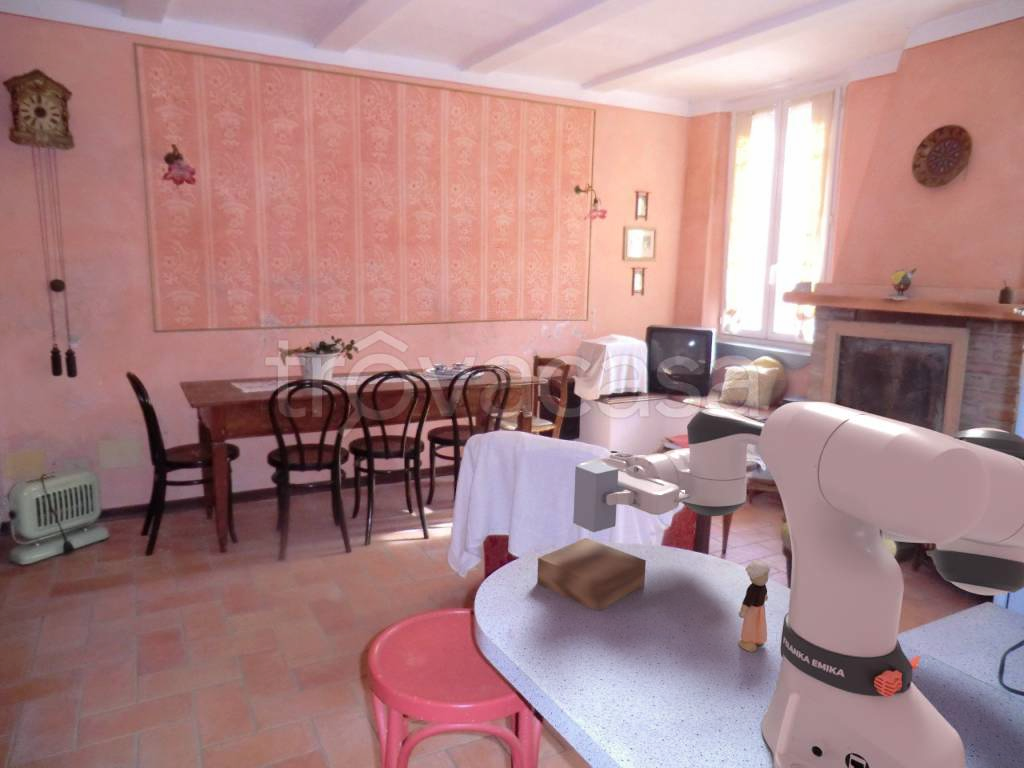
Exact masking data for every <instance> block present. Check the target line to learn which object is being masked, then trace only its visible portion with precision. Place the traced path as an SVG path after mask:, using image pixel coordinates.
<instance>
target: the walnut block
mask: <svg viewBox="0 0 1024 768" xmlns="http://www.w3.org/2000/svg"><path fill="white" fill-rule="evenodd" d="M646 562H647V561H646V559H643V558H641V557H638V556H635V555H633V554H630V553H628V552H624V551H622V550H619V549H617V548H614V547H611V546H609V545H606V544H603V543H601V542H598V541H596V540H593V539H590V538H587V537H585V538H582V539H580V540H577V541H576V542H573V543H569V544H568V545H565V546H564V547H560V548H558V549H556V550H554V551H551V552H549V553H547V554H544V555H542V556H540V557H538V558H537V579H536V584H537V583H538V585H540V586H542V585H543V586H542V587H544V588H546V587H547V589H548V588H549V590H551V591H553V592H555V593H558V594H559V593H560V595H561V596H563V597H566V598H568V599H570V600H573V601H574V602H577V603H579V604H581V605H583V606H586V607H587V608H591V610H594V611H597V612H599V611H601V610H602V609H604V608H606V607H608V606H610V605H612V604H613V603H615V602H617V601H619V600H622V598H624V597H626V596H628V595H630V594H632V593H633V592H636V591H637V590H639V589H641V588H643V587H644V586H645V582H646V581H645V579H646V564H647V563H646Z"/></svg>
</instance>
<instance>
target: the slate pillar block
mask: <svg viewBox="0 0 1024 768" xmlns="http://www.w3.org/2000/svg"><path fill="white" fill-rule="evenodd" d="M575 469H576V470H575ZM575 469H574V496H573V498H574V500H573V516H572V517H573V519H572V520H573V521H572V523H573V524H575V525H577V526H579V527H581V528H583V529H585V530H588V531H589V532H592V533H596V532H600V531H603V530H606V529H608V530H609V529H610V528H614V527H616V522H617V521H616V519H617V506H618V504H614V505H607V504H605V503H603V502H602V499H603V497H602V495H603V493H605V492H609V491H611V492H617V486H618V469H617V468H614V467H611V466H608V465H606V464H603V463H600V462H593V463H589V464H584V465H579V466H577V465H575Z"/></svg>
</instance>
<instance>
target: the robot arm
mask: <svg viewBox="0 0 1024 768" xmlns="http://www.w3.org/2000/svg"><path fill="white" fill-rule="evenodd" d="M686 430H687V443H688V446H689V447H685V448H684V447H683V448H676V449H670V450H667V451H665V452H663V453H659V452H658V453H652V454H629V453H628V454H627V453H621V452H614V453H610V454H609V457H600V458H599V457H598V458H594V459H590V460H586V461H583V462H580V463H577V465H576V466H579V465H584V464H589V463H593V462H600V463H603V464H606V465H608V466H611V467H614V468H617V469H618V486H617V492H611V491H609V492H605V493H603V495H602V497H603V499H602V502H603V503H605V504H607V505H614V504H617V505H623V506H624V505H625V506H627V505H628V506H630V507H632V508H634V509H638V510H640V511H643V512H645V513H647V514H650V515H654V516H655V515H656V516H660V515H664V514H666V513H669V512H671V511H674V510H676V509H677V508H678V507H679V505H680V504H679V503H682V504H683V505H684V506H685V507H686V508H688V509H689V510H690V511H692V512H694V513H697V514H699V515H702V516H709V517H720V516H727V515H730V514H733V513H735V512H736V511H738V510H739V509H740V508H742V507H743V506H744V505H745V504H746V502H747V487H748V486H747V485H748V483H747V482H748V479H747V478H748V476H747V454H748V453H747V452H748V451H747V450H748V449H747V447H748V445H752V446H756V447H758V449H759V453H760V457H761V460H762V463H763V464H764V466H765V467H766V469H767V470H768V472H769V473H770V475H771V477H772V478H773V481H774V482H775V485H776V488H777V490H778V493H779V495H780V499H781V502H782V507H783V510H784V514H785V519H786V523H787V529H788V533H789V537H790V538H789V539H790V545H791V557H792V558H791V578H790V591H789V603H788V604H789V605H788V612H787V613H786V614H785V616H784V618H783V625H782V630H781V637H780V638H781V639H780V656H781V658H782V659H781V663H780V669H779V673H778V678H777V681H776V685H775V689H774V692H773V695H772V697H771V701H770V703H769V706H768V707H767V711H766V712H765V714H764V716H763V718H762V720H761V731H762V735H763V738H764V740H765V742H766V744H767V746H768V747H769V749H770V751H771V753H772V755H773V758H772V759H773V768H967V762H966V760H967V759H966V753H965V747H964V743H963V740H962V738H961V736H960V734H959V732H957V730H956V729H955V728H954V727H953V726H952V725H951V723H949V721H947V720H946V718H944V716H943V715H942V714H941V713H940V712H939V711H938V710H937V708H936V707H935V706H934V705H933V704H932V703H931V702H930V701H929V700H928V699H927V697H925V695H924V694H923V693H922V692H921V690H920V689H918V687H917V686H916V685H915V683H913V681H912V679H913V672H914V671H915V670H916V669H918V668H919V665H920V663H919V662H920V658H921V657H920V655H919V654H918V655H916V656H914V657H913V658H912V659H910V660H909V659H908V657H907V656H906V654H905V653H904V651H903V649H902V645H901V643H900V641H899V639H898V635H899V627H900V621H901V620H900V619H901V612H902V611H901V610H902V604H903V598H904V597H903V596H904V589H905V581H904V579H905V578H904V575H903V572H902V569H901V566H900V565H899V562H898V561H897V560H896V558H895V556H893V554H892V553H891V551H890V550H889V549H888V546H887V545H886V543H885V542H884V540H886V541H893V542H901V543H902V542H903V543H918V544H935V546H934V550H925V553H926V556H928V557H931V559H932V561H933V564H934V567H935V570H936V571H937V572H938V574H939V575H940V576H941V577H942V578H943V579H944V580H945V581H946V582H949V583H952V584H953V585H954V586H956V587H958V588H959V589H961V590H964V591H966V592H969V593H972V594H976V595H982V596H998V595H999V596H1000V595H1005V594H1008V593H1013V594H1014V593H1016V592H1019V591H1020V590H1023V589H1024V438H1023V437H1022V436H1021V435H1019V434H1015V433H1011V432H1009V431H1006V430H1003V429H999V428H996V427H995V428H994V427H976V428H975V427H974V428H971V429H965V430H959V431H956V432H955V433H954V434H952V435H948V434H945V433H942V432H939V431H935V430H933V429H930V428H926V427H923V426H919V425H915V424H912V423H907V422H904V421H900V420H897V419H893V418H889V417H885V416H881V415H877V414H874V413H870V412H866V411H862V410H859V409H854V408H851V407H847V406H843V405H840V404H836V403H832V402H828V401H827V402H826V401H795V402H794V401H793V402H789V403H785V404H783V405H781V406H780V407H778V408H777V409H775V410H774V411H773V412H772V413H771V414H770V415H769V416H768V418H767V419H766V420H762V419H758V418H753V417H751V416H748V415H744V414H741V413H738V412H735V411H731V410H730V409H726V408H721V407H712V408H704V409H701V410H699V411H698V412H697V413H696V414H695V415H694V416H693V417H692V418H691V420H690V421H689V423H687V426H686ZM575 470H576V468H575V469H574V471H575Z"/></svg>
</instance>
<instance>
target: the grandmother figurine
mask: <svg viewBox="0 0 1024 768" xmlns="http://www.w3.org/2000/svg"><path fill="white" fill-rule="evenodd" d="M745 571H746V572H747V576H748V577H749V580H750V582H751V584H749V586H748V587H747V589H746V592H745V596H744V598H743V601H742V603H741V607H740V611H739V612H738V617H740V618H741V619H743V621H742V628H741V632H740V640H739V641H738V643H737V644H738V646H739V647H740V648H742V649H743V650H745V651H747V652H750V653H753V652H756V651H758V647H757V646H762V645H764V643H767V641H768V630H767V629H768V628H767V625H768V624H767V618H766V607H765V606H766V605H765V603H766V601H768V599H769V597H768V596H769V595H768V589H767V585H766V584H767V583H768V581H769V573H770V572H771V567H770V565H769V564H767V562H764V561H761V560H754V561H752V562H751V563H750V564H748V565H747V567H746V568H745Z"/></svg>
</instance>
